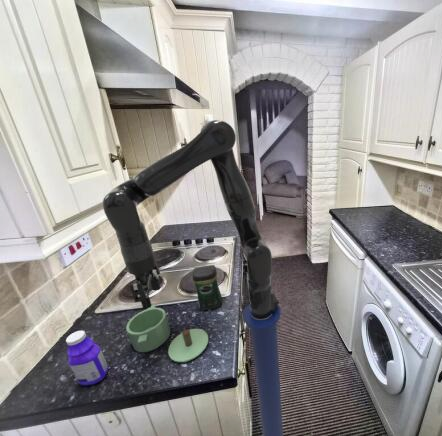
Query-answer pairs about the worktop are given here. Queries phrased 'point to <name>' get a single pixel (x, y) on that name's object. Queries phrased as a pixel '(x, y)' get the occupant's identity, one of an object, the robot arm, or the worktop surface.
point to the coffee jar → (207, 287)
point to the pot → (148, 329)
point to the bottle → (86, 359)
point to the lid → (188, 345)
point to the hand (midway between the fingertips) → (152, 297)
